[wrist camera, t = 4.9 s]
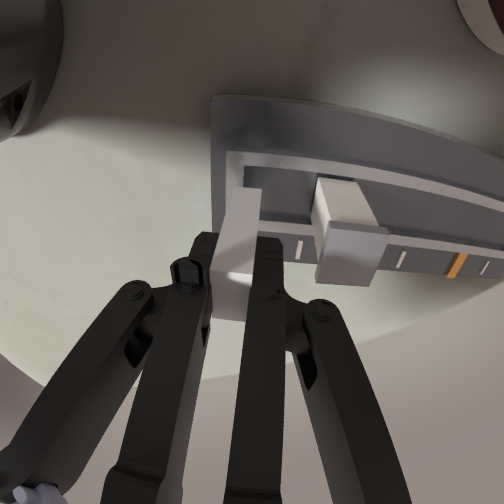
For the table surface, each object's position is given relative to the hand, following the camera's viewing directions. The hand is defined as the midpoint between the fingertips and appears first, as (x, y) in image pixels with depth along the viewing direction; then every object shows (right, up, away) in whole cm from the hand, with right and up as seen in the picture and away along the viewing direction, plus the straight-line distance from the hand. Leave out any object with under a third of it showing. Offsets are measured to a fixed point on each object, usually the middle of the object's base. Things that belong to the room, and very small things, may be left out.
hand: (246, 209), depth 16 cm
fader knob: (+5, +1, +1) cm, 5 cm away
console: (+12, +2, +3) cm, 12 cm away
